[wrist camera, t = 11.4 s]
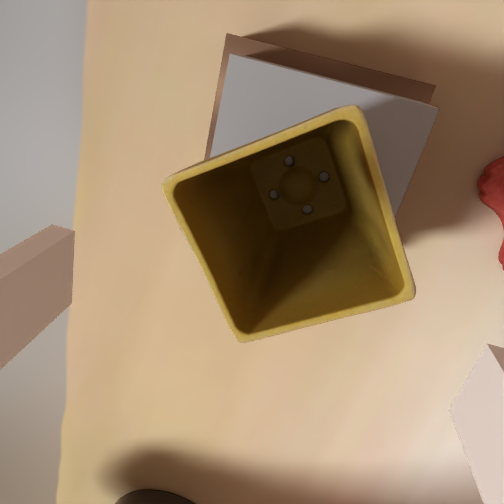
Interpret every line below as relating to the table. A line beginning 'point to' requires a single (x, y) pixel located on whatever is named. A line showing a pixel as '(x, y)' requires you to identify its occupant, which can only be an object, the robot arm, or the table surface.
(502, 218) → the stacking bear
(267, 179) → the flower pot
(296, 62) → the walnut base slab
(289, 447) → the table surface
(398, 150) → the grey top slab
